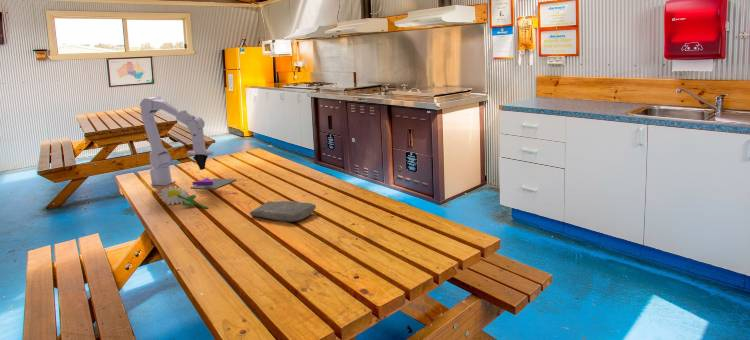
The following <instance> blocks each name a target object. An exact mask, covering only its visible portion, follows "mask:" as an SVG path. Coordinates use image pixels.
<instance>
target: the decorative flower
mask: <svg viewBox="0 0 750 340" xmlns="http://www.w3.org/2000/svg"><path fill="white" fill-rule="evenodd" d="M188 194H189V191H187V189H182V187H181V186H180V187H178V186H177V185H174V186H171V185H169V187H163V189H160V192H159V193H158V195H160V196H159V199H162V202H165V201H166V205H170V204H171V206H174V205H175V204H177V205H178V204H179V203H180V204H182V206H185V207H186V206H188V207H189V206H193V205H197V206H199V207H201V208H203V209H206V210H208V209H209V207H208V206H206V205H203V204H201V203H199V202H196V201H194V200H195V199H196V198H197V196H196V195H195V194H192V195H188Z"/></svg>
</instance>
